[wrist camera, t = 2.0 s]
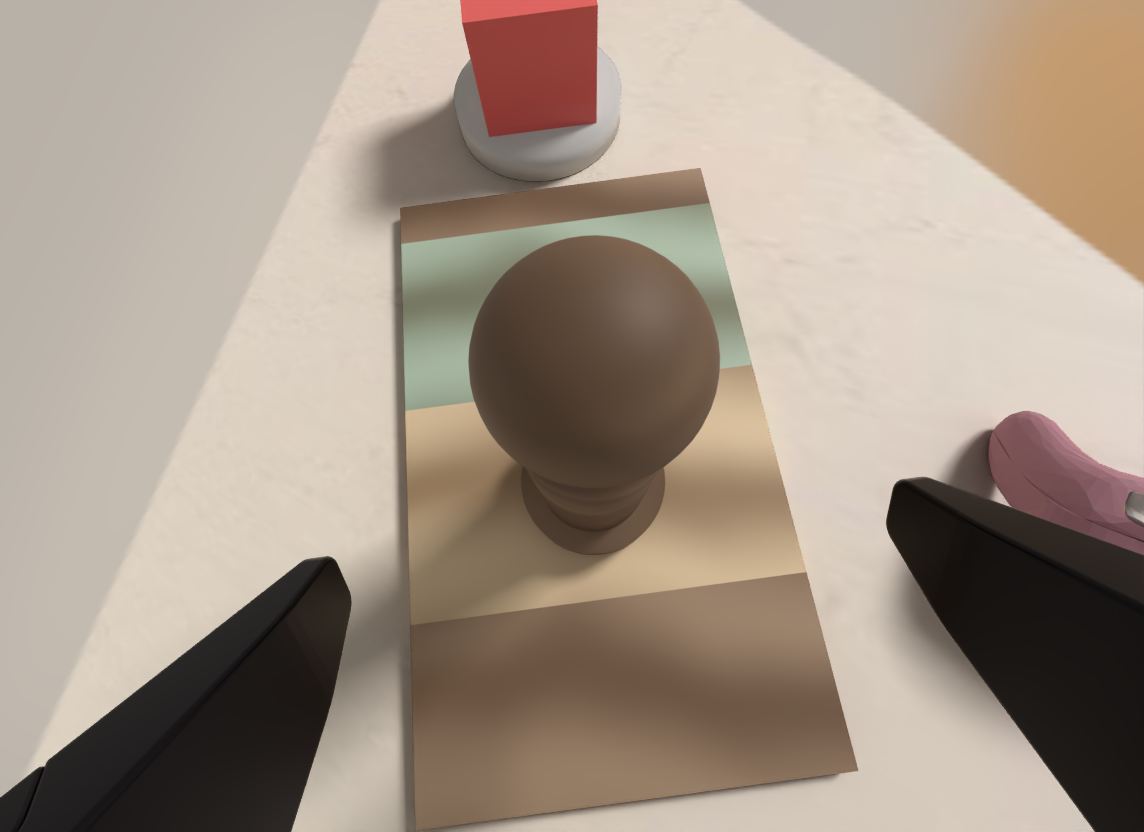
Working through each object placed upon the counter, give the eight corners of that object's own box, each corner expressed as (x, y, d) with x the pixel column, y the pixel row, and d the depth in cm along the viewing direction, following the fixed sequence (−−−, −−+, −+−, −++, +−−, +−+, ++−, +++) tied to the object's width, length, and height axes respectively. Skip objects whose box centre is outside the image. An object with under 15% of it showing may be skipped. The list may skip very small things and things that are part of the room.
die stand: (631, 169, 24) (645, 25, 18) (466, 191, 24) (422, 54, 18) (607, 50, 27) (611, -113, 20) (457, 70, 27) (415, -87, 20)
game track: (849, 764, 16) (858, 770, 16) (421, 821, 16) (415, 830, 16) (697, 177, 24) (700, 168, 23) (404, 216, 24) (400, 207, 23)
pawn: (649, 567, 18) (783, 538, 5) (513, 541, 18) (343, 457, 6) (667, 434, 19) (805, 167, 7) (541, 413, 20) (453, 126, 7)
